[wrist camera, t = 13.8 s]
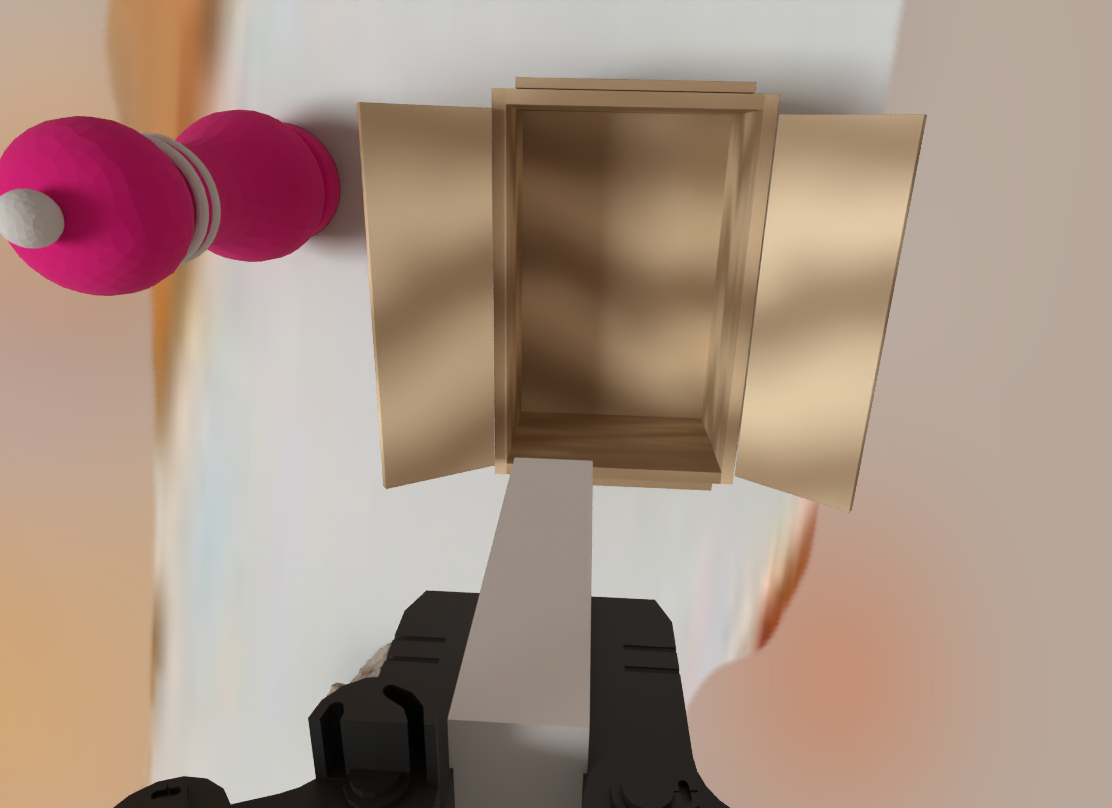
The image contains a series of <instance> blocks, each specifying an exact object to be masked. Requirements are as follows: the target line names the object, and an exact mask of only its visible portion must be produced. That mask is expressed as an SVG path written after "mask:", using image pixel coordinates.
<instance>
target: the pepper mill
mask: <svg viewBox="0 0 1112 808" xmlns="http://www.w3.org/2000/svg"><path fill="white" fill-rule="evenodd" d="M339 197H340V183H339V176H338V172H337V169H336V166H335V163H334V161H333V159H332V157H331V155H330V154H329V152H328V151H327V149H326V148H325V147H324V146H323V144H322V143H321V142H320V141H319V140H318V139H317V138H315V137H314V136H313V135H311V134H310V133H308V132H307V131H305V130H303V129H301V128H299V127H297V126H294V125H291V124H287V123H282V122H281V121H279V120H277V119H275V118H273V117H271V116H269V115H266V114H263V113H259V112H256V111H249V110H231V111H223V112H217V113H213V114H210V115H208V116H205V117H203V118H201V119H199V120H198V121H196V122H195V123H193V124H192V125H190V126H189V127H188V128H187V129H186V130H185V131H184V132H183V133H181V134H180V135H179V136H178V137H177V139H176V140H173V139H171V138H169V137H166V136H163V135H159V134H153V133H139V132H137V131H136V130H134V129H132V128H130V127H127V126H125V125H123V124H120V123H118V122H115V121H112V120H106V119H100V118H95V117H85V116H74V117H67V118H60V119H54V120H49V121H45V122H43V123H40V124H38V125H36V126H34V127H32V128H29V129H27V130H26V131H25V132H23V133H22V134H21V135H19V136H18V137H17V138H16V139H14V140H13V142H12V143H11V144H10V145H9V146H8V148H7V149H6V150H5V151H4V153H3V155H2V157H1V159H0V233H1V235H2V236H3V237H4V238H6V239H7V240H8V242H9V243H10V245H11V246H12V247H13V248H14V250H15V251H16V253H17V254H18V255H19V257H20V258H22V259H23V260H24V261H25V262H26V263H27V264H28V265H29V266H30V267H31V268H32V269H34V270H35V271H36V272H38V273H40V274H41V275H42V276H44V277H45V278H46V279H48V280H50V281H52V282H54V283H56V284H58V285H60V286H62V287H64V288H68V289H71V290H74V291H77V292H81V293H86V294H91V295H103V296H113V295H121V294H129V293H134V292H138V291H142V290H145V289H148V288H150V287H152V286H154V285H156V284H157V283H159V282H160V281H162V280H163V279H165V278H166V277H168V276H169V275H171V274H172V273H174V271H175V270H176V269H177V267H178V266H179V264H182V263H186V262H189V261H191V260H193V259H195V258H197V257H198V256H200V255H201V254H202V253H203V252H204V251H206V250H207V249H208V250H209V251H211V252H213V253H215V254H217V255H220V256H223V257H225V258H230V259H234V260H240V261H248V262H258V261H266V260H271V259H276V258H281V257H283V256H286V255H288V254H291V253H292V252H294V251H295V250H297V249H299V248H300V247H301V246H302V245H303V244H304V243H306V242H307V241H308V239H309V238H310V237H311V236H313V235H315V234H317V233H318V232H320V231H321V230H322V229H323V228H324V227H325V226H326V225H327V224H328V223H329V222H330V221H331V219H332V218H333V216H334V214H335V212H336V209H337V206H338V202H339Z"/></svg>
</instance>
